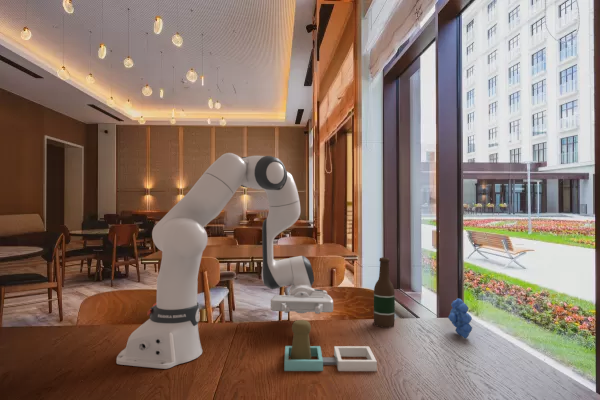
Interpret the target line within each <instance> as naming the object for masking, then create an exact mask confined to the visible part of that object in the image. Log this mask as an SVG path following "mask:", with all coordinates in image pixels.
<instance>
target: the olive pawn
mask: <svg viewBox="0 0 600 400" xmlns="http://www.w3.org/2000/svg"><path fill="white" fill-rule="evenodd" d="M311 329H312V325H311V323H310V321H308V320H304V319H298V320H295V321H293V322H292V325H291V330H292V333H293V338H292V343H291V344H292V345H291V346H292V350H291V356H289V360H313V359H312V356H311V350H310V346H311V344H310V343H311V342H310V332H311V331H312V330H311Z"/></svg>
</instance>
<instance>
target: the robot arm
mask: <svg viewBox="0 0 600 400" xmlns="http://www.w3.org/2000/svg"><path fill="white" fill-rule="evenodd" d="M240 187H242V188H245V189H247V188H248V189H254V190H263V191H264V192H265V194H266V199H267V204H268V215H267V217H266V218H265V219H263V222H262V229H261V232H262V233H261V235H262V237H261V240H262V241H261V243H262V248H261V249H262V268H261V279H262V283H263V285H264V286H265V287H267V288H269V289H271V290H276V289H280V288H282V287H286V286H290V287H289V292H288V294H287V295H285V294H284V295H283V294H279V295H278V294H277V295H274V296H272V297H271V299H270V311H273V312H284V313H286V314H288V313H290V312H295V313H297V314H307V313H314V314H317V315H319V314H321V313H333V312H334V299H333V298H332V297H331V295H329V294H328V292H327V290H323V289H316V288H313V287H312V286H313V284H314V282H315V276H314V272H313V267H312V264H311V261H310V260H309V259H308V258H307V257H306V256H305V255H299V256H293V257H289V258H288V257H287V258H283V259H278V260H276V259H274V240H275V238H276V237H277V236H278V235H279V234H281V233H282V232H284V231H285V230H287V229H289V228H290V227H292V226H293V225H294V224H296V222H297V221H298V220H299V218H300V216H301V202H300V196H299V193H298V191H299V190H298V187H297V185H296V182H295V180H294V177H293V175H292V174H291V173H290V172H289V171H287V170H286V167H285V164H284V163H283V161H282V160H281V159H280V158H278V157H275V156H272V155H250V156H243V157H242V156H239V155H237V154H235V153H232V152H226V153H223V154H222V155H221V156H219V157H218V158H217V159H216V160H214V161H213V163H212V164H210V166H208V168H207V169H206V170H205V171H204V173H203V174H202V175H201V176H200V177H199V179H198V180H197V181H196V182H195V184H194V185H193V186H192V187H191V188H190V190H189V191H188V192H187V193H185V195H184V196H183V197H182V198H181V199H180V200H179V201H178V202H177V203H176V204H174V205H173V207H171V209H169V211H168V212H167V213H166V214H165V215H164V216H163V217H162V218H161V219H160V220H159V221H158V222H157V223H156V224H155V225H154V227H153V229H152V231H151V236H152V241H153V243H154V245H155V247H156V248H157V249H158V250H159V251H161V261H160V268H159V270H158V271H159V272H158V275H157V277H156V302H155V303H154V304H153V305H152V306H151V307H150V308H149V310H147V316H149V318H148V319H147V320H146V321H144V322H143V323H142V324H141V325H140V326H138V327H137V328H136V329H135V330H134V331H132V332H131V334H130V335H129V336H128V339H127V343H126V347H125V348H124V349H122V350H121V351H120V352H119V353H118V355H117V356H116V364H117V365H121V366H123V365H124V366H131V367H132V366H133V367H140V368H141V367H142V368H152V369H164V370H167V369H170V368H173V367H175V366H177V365H180V364H181V365H182V364H184V363H188V362H191V361H193V360H195V359H197V358H199V357H200V356H201V355H202V354H203V349H202V348H203V347H202V345H201V339H200V333H199V320H200V304H199V302H198V285H199V284H198V283H199V281H198V280H199V279H198V277H199V272H200V266H201V262H202V257H203V252H204V251H205V249H206V247H207V245H208V239H209V238H208V233H207V231H206V229H205V226H207V225H208V224H209V223H210V222H212V221H213V220H214V219H215V218H217V217H218V216H219V215H220V214H221V212H222V211H223V209H224V208H225V207H226V205H228V203H229V201H231V199H232V198H233V196H234V195H235V193H236V192H237V190H238V189H239V188H240Z"/></svg>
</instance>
